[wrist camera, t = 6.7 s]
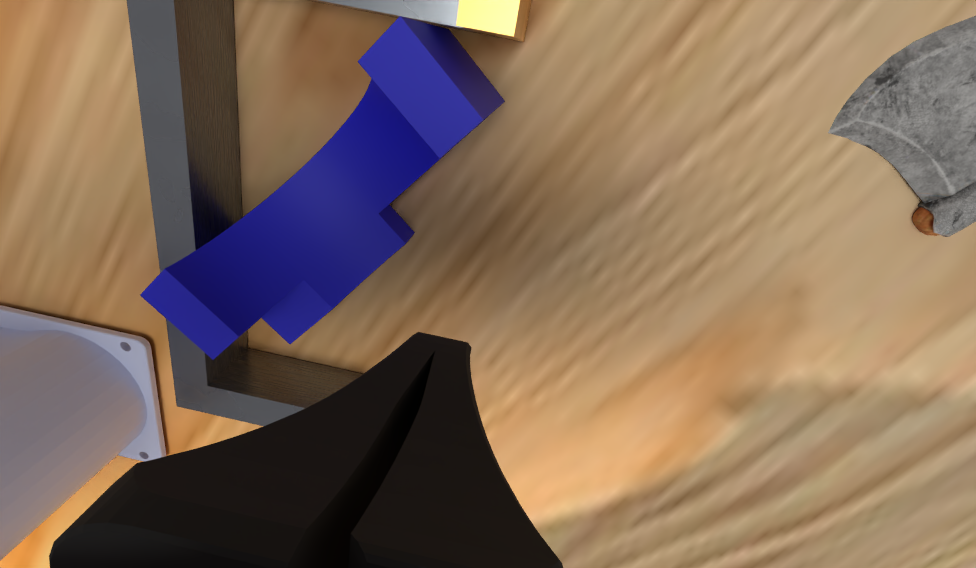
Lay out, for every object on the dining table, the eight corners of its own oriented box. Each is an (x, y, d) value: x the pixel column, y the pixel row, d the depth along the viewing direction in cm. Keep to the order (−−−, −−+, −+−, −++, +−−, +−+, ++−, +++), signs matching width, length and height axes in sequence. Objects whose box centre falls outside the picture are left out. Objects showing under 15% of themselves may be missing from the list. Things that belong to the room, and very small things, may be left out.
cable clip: (322, 309, 22) (247, 390, 17) (246, 234, 21) (139, 295, 16) (531, 134, 18) (521, 167, 13) (450, 29, 17) (400, 16, 12)
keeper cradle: (219, 367, 24) (151, 429, 20) (186, -75, 16) (66, -118, 12) (454, 419, 24) (433, 494, 20) (533, -9, 16) (525, -32, 12)
